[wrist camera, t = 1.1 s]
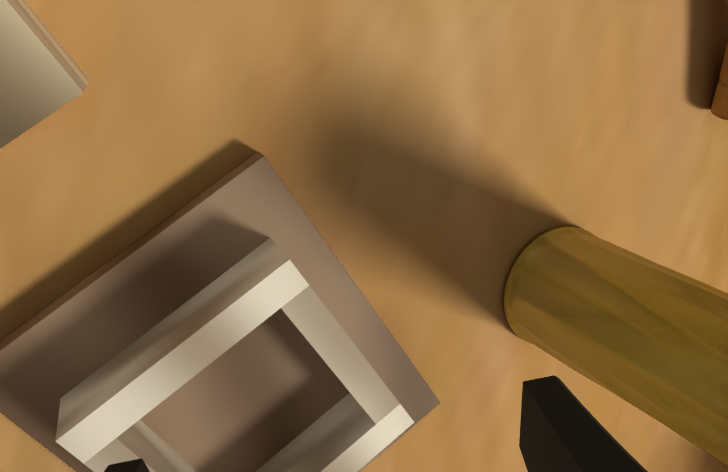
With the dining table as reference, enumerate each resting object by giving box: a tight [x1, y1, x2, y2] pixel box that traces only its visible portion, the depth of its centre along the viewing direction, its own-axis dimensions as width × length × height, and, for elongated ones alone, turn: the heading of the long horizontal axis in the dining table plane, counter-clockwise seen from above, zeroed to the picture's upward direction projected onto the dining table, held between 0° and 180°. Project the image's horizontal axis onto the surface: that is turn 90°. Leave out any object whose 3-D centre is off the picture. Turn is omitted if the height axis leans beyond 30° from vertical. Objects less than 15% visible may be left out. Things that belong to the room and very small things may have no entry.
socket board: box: [0, 152, 440, 472], centre depth 22 cm, size 12×14×4 cm
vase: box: [504, 227, 728, 466], centre depth 23 cm, size 6×6×14 cm
